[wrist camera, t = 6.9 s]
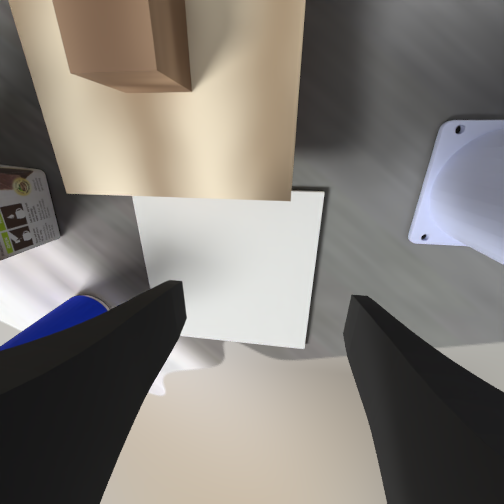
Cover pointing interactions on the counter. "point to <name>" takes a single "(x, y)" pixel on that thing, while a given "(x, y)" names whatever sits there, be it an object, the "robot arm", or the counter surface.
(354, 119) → the counter surface
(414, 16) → the counter surface
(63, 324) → the beverage can
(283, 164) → the lid
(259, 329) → the mat
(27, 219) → the coffee box
